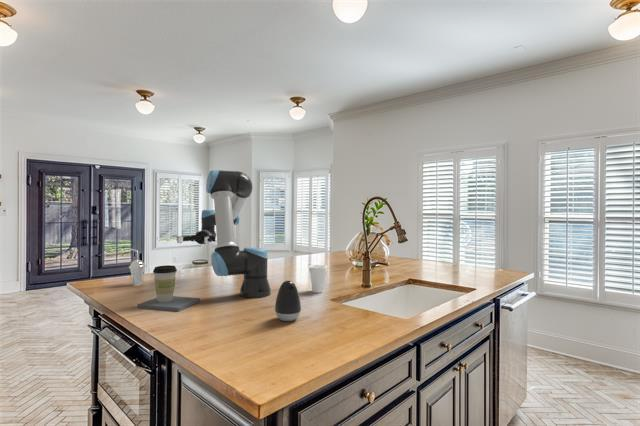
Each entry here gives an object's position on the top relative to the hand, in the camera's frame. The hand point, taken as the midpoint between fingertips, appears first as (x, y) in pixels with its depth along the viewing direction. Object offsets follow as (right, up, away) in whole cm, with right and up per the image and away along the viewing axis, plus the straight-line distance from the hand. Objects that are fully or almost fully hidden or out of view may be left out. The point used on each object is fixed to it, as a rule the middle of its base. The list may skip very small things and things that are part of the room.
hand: (191, 240), depth 178 cm
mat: (-1, -27, -23) cm, 35 cm away
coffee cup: (-4, -25, -22) cm, 34 cm away
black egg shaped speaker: (+53, -28, -42) cm, 73 cm away
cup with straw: (-35, -26, +15) cm, 46 cm away
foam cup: (+65, -27, +4) cm, 70 cm away
